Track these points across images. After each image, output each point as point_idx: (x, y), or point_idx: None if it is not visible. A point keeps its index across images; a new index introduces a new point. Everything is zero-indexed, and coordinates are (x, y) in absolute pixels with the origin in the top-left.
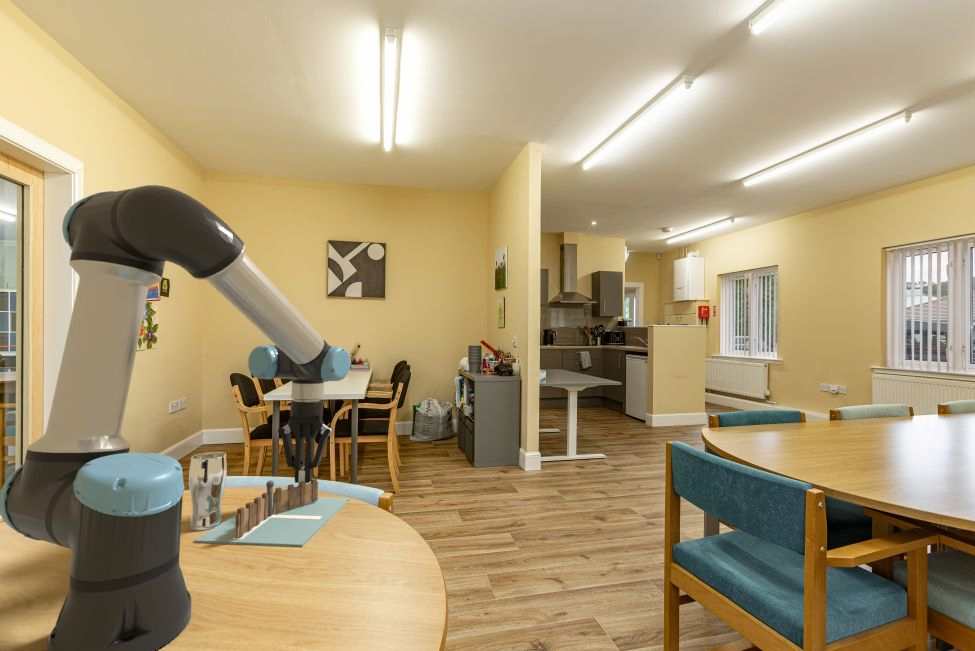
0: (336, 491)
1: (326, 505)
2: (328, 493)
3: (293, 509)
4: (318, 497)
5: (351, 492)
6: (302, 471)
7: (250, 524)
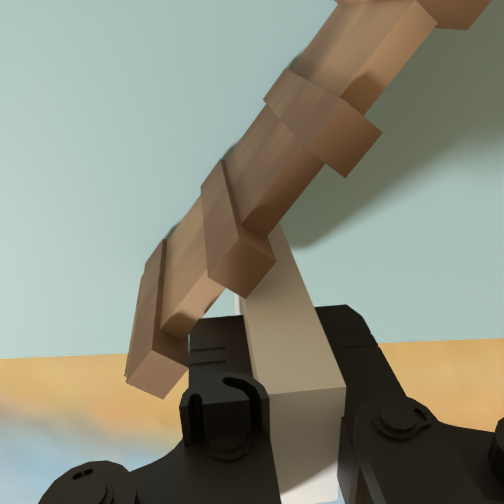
0: (128, 466)
1: (28, 212)
2: (162, 433)
3: (258, 105)
4: None
5: (17, 467)
6: (287, 383)
7: None
